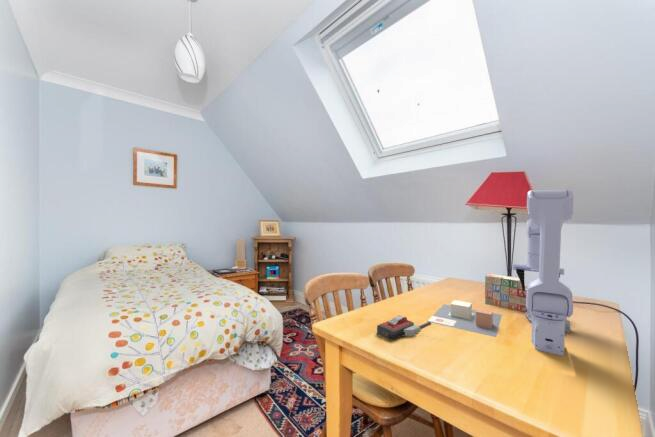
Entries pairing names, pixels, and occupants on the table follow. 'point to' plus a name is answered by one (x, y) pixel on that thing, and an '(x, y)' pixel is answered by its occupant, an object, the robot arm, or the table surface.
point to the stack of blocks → (505, 292)
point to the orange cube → (484, 318)
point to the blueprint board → (464, 321)
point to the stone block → (567, 323)
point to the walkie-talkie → (399, 328)
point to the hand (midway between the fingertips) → (536, 292)
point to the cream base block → (461, 309)
